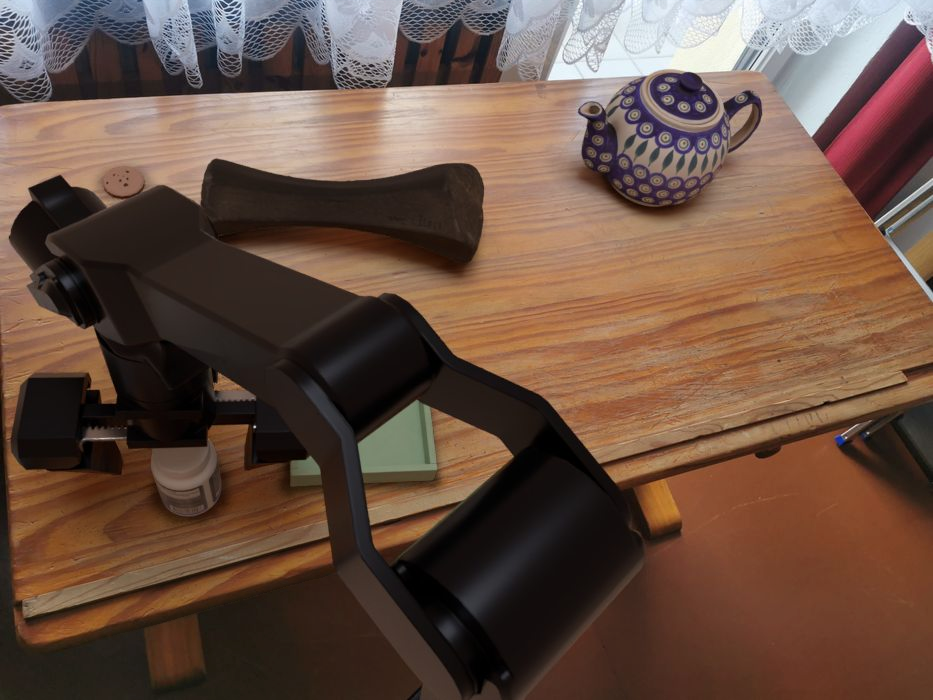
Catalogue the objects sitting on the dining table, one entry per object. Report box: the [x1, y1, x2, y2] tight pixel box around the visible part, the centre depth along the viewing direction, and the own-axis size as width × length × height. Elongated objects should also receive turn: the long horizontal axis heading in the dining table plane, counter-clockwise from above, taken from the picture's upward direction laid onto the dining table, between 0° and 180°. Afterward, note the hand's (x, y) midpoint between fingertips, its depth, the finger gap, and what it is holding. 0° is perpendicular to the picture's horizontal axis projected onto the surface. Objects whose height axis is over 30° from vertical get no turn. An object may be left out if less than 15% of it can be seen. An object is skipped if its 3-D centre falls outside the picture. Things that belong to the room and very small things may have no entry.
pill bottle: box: [150, 438, 223, 517], centre depth 60 cm, size 5×5×8 cm
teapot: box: [577, 68, 763, 208], centre depth 89 cm, size 25×15×15 cm, turn 105°
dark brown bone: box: [199, 157, 485, 265], centre depth 78 cm, size 11×10×28 cm
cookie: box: [102, 165, 145, 198], centre depth 78 cm, size 4×4×1 cm
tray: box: [289, 400, 439, 487], centre depth 69 cm, size 12×12×2 cm
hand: (184, 466), depth 60 cm, fingers open, 9 cm apart
